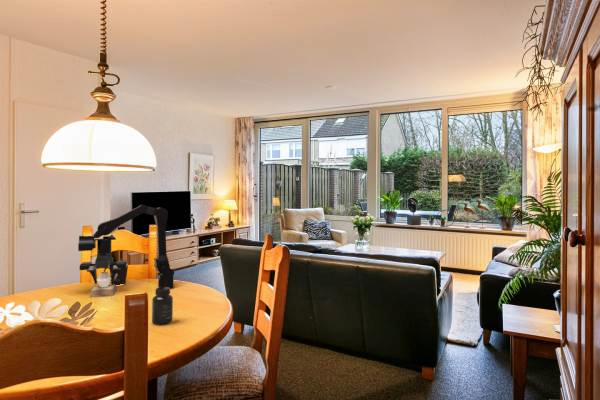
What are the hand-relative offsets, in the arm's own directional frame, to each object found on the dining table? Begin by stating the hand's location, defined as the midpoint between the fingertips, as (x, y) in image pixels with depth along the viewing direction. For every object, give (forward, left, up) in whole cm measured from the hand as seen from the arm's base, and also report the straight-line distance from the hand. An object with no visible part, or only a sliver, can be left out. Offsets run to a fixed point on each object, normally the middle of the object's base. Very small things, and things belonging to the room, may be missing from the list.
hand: (104, 283), depth 165 cm
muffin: (0, 0, -2) cm, 2 cm away
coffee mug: (-3, -20, -5) cm, 21 cm away
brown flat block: (0, 0, -5) cm, 5 cm away
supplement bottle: (-26, +50, -5) cm, 57 cm away
